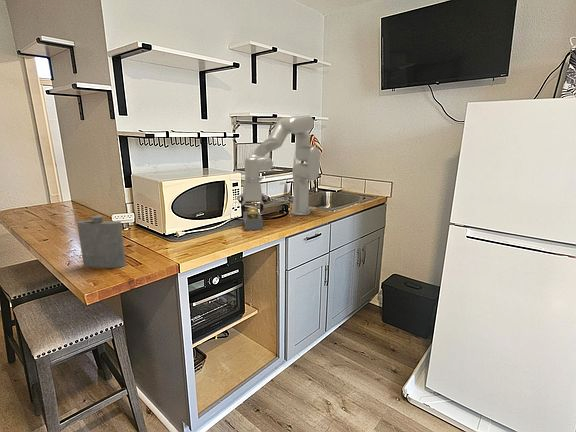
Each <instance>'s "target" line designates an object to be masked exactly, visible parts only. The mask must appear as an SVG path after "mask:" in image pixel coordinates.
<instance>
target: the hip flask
mask: <svg viewBox="0 0 576 432" xmlns="http://www.w3.org/2000/svg"><path fill="white" fill-rule="evenodd" d="M103 219H104V216H103V215H101V214H96V215H93V216H91V220H89V219H88V220H79V221H76V223H77V229H78V236H79V243H80V249H81V256H82V262H83V267H85V268H97V269H98V268H99V269H113V268H114V269H115V268H116V269H117V268H124V267H126V265H127V263H126V262H127V261H126V254H125V245H124V238H123V229H122V228H123V227H122V222H121V221H120V220H119V221H118V220H115V221H108V220H107V221H106V220H105V221H104V220H103Z"/></svg>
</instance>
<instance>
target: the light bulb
mask: <svg viewBox="0 0 576 432" xmlns="http://www.w3.org/2000/svg"><path fill="white" fill-rule="evenodd" d="M246 211H247V216H250V217H255V216H258V211H259V208H257V207H249V208H247V210H246Z"/></svg>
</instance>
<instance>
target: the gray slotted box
mask: <svg viewBox="0 0 576 432" xmlns="http://www.w3.org/2000/svg"><path fill="white" fill-rule="evenodd" d="M242 218H243V219H242V221H243V225H244V228H245V231H261V230H264V219H263V216H262V215H261V213H260V211H259V212H258V216H255V217H250V216H247V210H245V212H243V211H242Z"/></svg>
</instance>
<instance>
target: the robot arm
mask: <svg viewBox="0 0 576 432" xmlns="http://www.w3.org/2000/svg"><path fill="white" fill-rule="evenodd" d="M314 126H315V120H314V118H313V117H312V116H310V115H292V116H290V117H282V118H279V119H278V121H277V122H276V123H275V125H274V126H273V129H272V131H271V133H270V134H269V136H268V138H266V139H265V140H264V141H262V142H261V143H260V144H259V145H258V146H256V148H255V149H254V151H253V152H252V154H251V156H250V157H249V156H248V157H245V159H244V183H243V185H242V186H243V187H242V193H241V194H239V195H237V196H238V197H237V196H236V197H237V198H236V200H238V201H239V205H241V211H242V213H243V212H245V211H246V208H245V203H247V202H249V203H251V202H260V203H259V204H260V205H259V206H260V207H259V208H260V209H259V210H260V211H259V212H263V210H264V204H265V203H266V202H267V200H268V198H269V196H268V194H265V193H262V185H261V182H262V181H263V178H262V177H260V171H265V172H267V171H270V170H271V169H272V168H273V167H274V161H273V159H272V158H270V157H268V156H267V154H269V153H271V152H272V151H275V150H277V149H279V148H281V147H282V145H283V143H284V141H286V138H287V137H288V135H289V134H294V136H295V152H294V153H295V159H296V160H297V161H300V163H296V164H294V165H293V167H292V169H291V172H292V173H291V175H292V179H293V198H292V199H293V201H292V209H291V210H290V214H292V215H295V216H307V215H310V214H311V212H312V211H316V207H315V206H309V193H310V192H309V190H310V189H309V188H310V186H309V182H308V181H315V180H317V179H318V177H319V175H320V167H321V165H320V164H321V152H320V150H319V147H317V146H315V145H311V142H310V141H311V139H310V138H311V137H310V133H309V131H312V129H313V127H314ZM301 162H307V163H301ZM263 197H264V199H263ZM241 198H242V200H241ZM262 199H263V200H262Z"/></svg>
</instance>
